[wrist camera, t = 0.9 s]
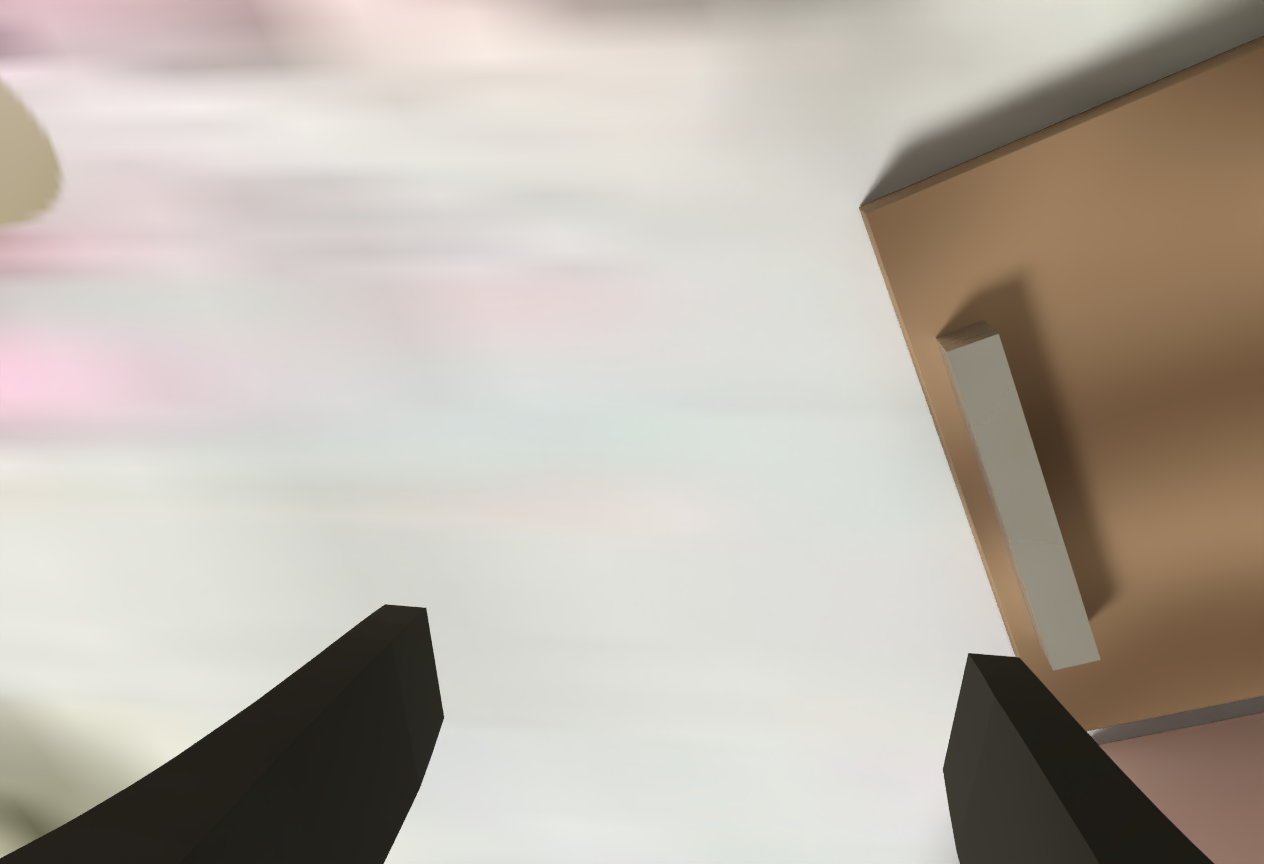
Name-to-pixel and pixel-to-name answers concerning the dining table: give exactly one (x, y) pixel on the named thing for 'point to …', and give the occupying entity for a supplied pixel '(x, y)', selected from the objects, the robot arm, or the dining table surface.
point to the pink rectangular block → (1205, 783)
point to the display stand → (1106, 384)
